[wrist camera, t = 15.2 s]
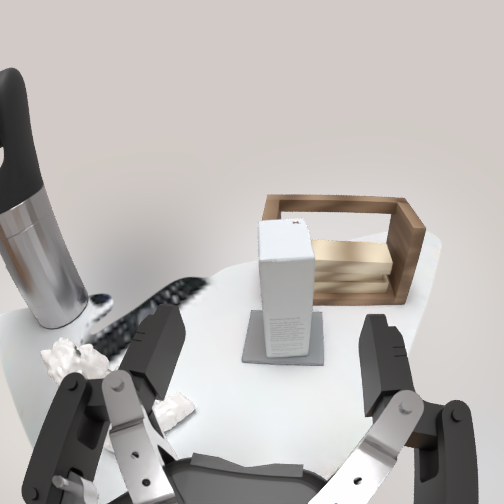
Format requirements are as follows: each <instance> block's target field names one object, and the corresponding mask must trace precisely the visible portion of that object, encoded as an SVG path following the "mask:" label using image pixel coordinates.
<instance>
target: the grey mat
mask: <svg viewBox="0 0 504 504" xmlns="http://www.w3.org/2000/svg"><path fill="white" fill-rule="evenodd" d="M242 362H246V363H261V364H281V365H324V346H323V321H322V312H312V319H311V330H310V341H309V352H308V355H307V356H294V357H278V358H268V357H267V356H266V346H265V334H264V321H263V311H261V310H251V314H250V319H249V324H248V329H247V335H246V340H245V345H244V350H243V355H242Z"/></svg>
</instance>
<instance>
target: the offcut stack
mask: <svg viewBox="0 0 504 504" xmlns="http://www.w3.org/2000/svg"><path fill="white" fill-rule="evenodd" d="M311 242H312V246H313V250H314V253H315V275H314V293H386V291H387V288H388V284H389V282H388V279H387V276H386V274H389V275H390V273H391V269H392V264H393V262H392V259H391V256H390V253H389V250H388V247H387V244H386V243H372V242H350V241H327V240H311Z"/></svg>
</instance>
